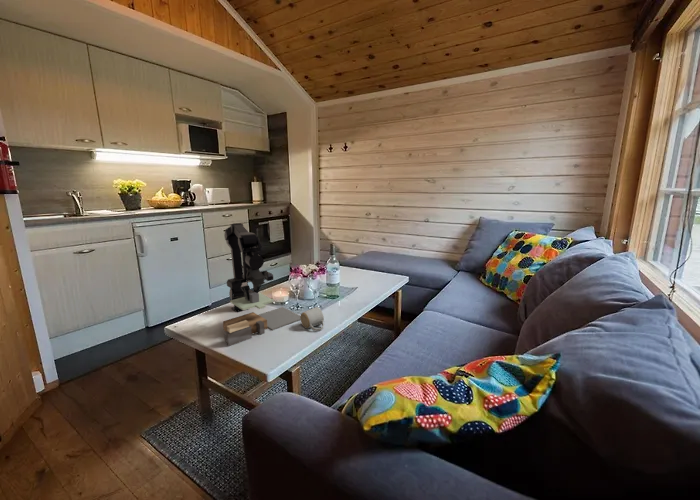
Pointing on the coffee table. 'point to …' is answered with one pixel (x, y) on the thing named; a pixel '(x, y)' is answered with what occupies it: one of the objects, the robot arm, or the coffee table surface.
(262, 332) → the toolbox
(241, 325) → the wooden block
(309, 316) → the ceramic mug
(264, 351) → the coffee table surface
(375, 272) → the coffee table surface
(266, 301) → the toolbox lid
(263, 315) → the rubber mat
